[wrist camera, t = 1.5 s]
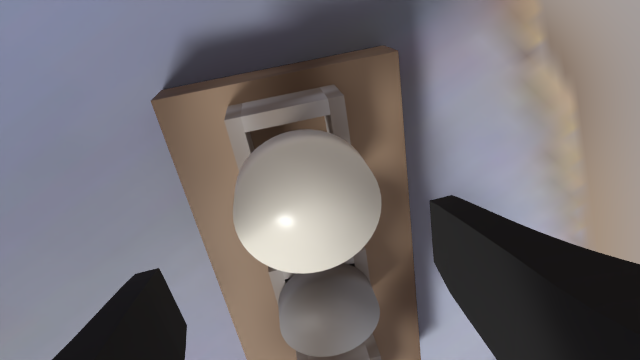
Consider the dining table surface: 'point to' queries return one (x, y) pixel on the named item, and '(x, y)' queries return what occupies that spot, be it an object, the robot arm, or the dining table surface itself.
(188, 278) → the dining table surface
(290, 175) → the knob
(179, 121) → the knob mount
